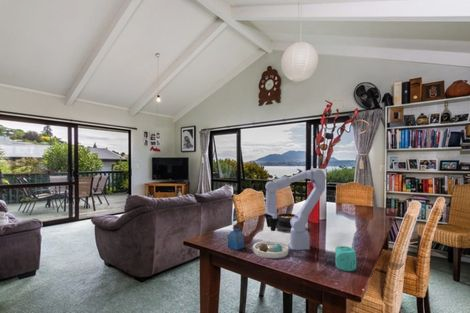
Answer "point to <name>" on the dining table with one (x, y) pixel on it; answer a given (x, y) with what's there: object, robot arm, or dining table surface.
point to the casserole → (284, 221)
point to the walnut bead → (263, 247)
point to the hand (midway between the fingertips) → (271, 228)
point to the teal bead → (277, 248)
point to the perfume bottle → (236, 238)
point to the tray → (269, 254)
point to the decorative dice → (345, 258)
